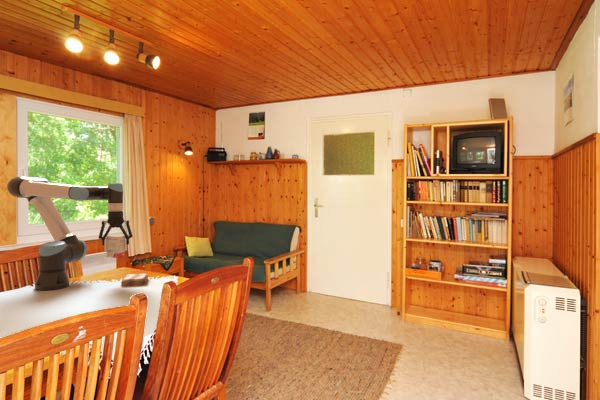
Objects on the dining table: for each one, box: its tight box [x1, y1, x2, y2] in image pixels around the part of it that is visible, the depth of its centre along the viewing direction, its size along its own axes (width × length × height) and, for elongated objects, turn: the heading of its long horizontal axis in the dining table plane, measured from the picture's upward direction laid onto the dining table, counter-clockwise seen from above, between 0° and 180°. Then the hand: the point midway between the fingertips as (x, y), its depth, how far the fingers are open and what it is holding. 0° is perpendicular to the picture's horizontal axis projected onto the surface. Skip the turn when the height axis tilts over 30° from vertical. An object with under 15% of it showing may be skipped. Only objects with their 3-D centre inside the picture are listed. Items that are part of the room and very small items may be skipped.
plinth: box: [121, 273, 149, 287], centre depth 204 cm, size 12×14×4 cm
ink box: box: [105, 235, 126, 259], centre depth 202 cm, size 9×5×12 cm, turn 76°
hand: (115, 250), depth 202 cm, fingers closed on ink box, 9 cm apart
